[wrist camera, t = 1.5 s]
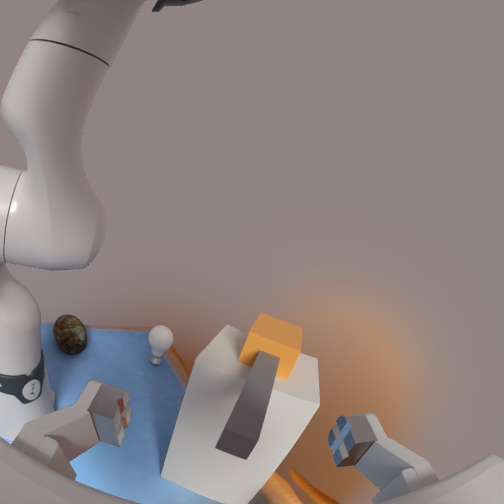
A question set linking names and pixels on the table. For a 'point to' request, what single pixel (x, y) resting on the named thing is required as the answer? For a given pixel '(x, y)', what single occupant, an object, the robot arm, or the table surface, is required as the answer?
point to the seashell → (70, 334)
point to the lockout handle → (260, 381)
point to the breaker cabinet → (218, 412)
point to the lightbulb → (159, 342)
